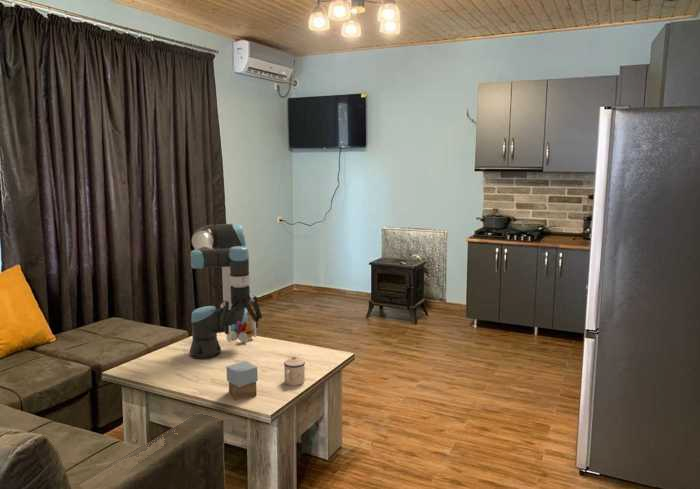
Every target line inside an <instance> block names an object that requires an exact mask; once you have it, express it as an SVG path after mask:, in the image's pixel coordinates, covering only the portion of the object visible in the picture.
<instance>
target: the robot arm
mask: <svg viewBox="0 0 700 489" xmlns="http://www.w3.org/2000/svg"><path fill="white" fill-rule="evenodd" d="M246 243H247V242H246V236H245V231H244V227H243V225H241V224H240V223H223V224H207V225H204V226H202V227H200V228H198V229H197V230H195V232H194V233H193V234H192V236H191V245H192V247H193V248H194V249H193V250H191V251H190V265H191V266H190V267H191V268H192V269H198V270H199V269H212V268H221V273H222V276H221V278H222V298H223V299H222V303H221V304H220V306H219V307H220V308H218V309H217V308H216V306H214V305H207V306H202V307H198V308H196V309H194V310H193V311H192V312H191V320H190V321H191V331H192V332H191V334H192V340H191V344H190V348H189V351H188V352H189V353H188V354H189V357H190V358H191V359H195V360H208V359H209V360H210V359H214V358H216V357H219V356H220V355H222V347H221V345H220V342H219V340H218V335H217V334H221V333H224V334H225V335H226V341H227V342H228V343H232V341H231V331H232V330H231V325H233V324H234V325H236V323H237V322H241V323H242V325H243V323H244V322H246V323H247V324H248V314H249V315H250V316H251V318H252V320H250V324H251V326H250V327H251V328H252V331H253V335H252V337H254V338H257V329H258V328H259V326H258V325H259V324H258V323H259V320H261V319H262V318H263V315H262V313H261V310H260V306H259V304H258V296H256V295H252V296H251V295H250V294H251V291H250V288H251V287H250V285H249V284H250V261H249V260H250V259H249V258H250V254H249V248H248V247H247V244H246ZM250 301H251V303H252V306H253V309H252V307H251V305H250V304H249V303H250ZM253 310H254V311H253Z"/></svg>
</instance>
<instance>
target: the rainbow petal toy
mask: <svg viewBox="0 0 700 489" xmlns="http://www.w3.org/2000/svg"><path fill="white" fill-rule="evenodd" d="M247 326H248V322H247V323H246V322H244V323H243V325H242V323H241V322H237V323H236V325H234V324H233V325H231V330H232V331H231V342H235V341H237V340H238V341H240V342H242V343H244V341H245V342H246V341H248V340H247V338H251V337H252V338H253V336H252V335H253V331H252V328H251V326H248V327H247Z"/></svg>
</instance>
